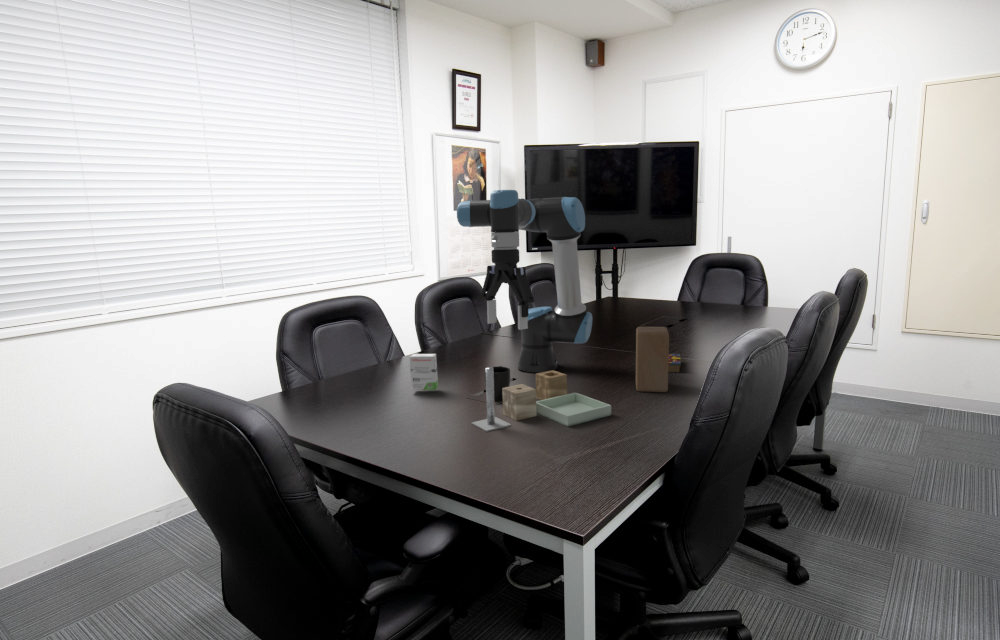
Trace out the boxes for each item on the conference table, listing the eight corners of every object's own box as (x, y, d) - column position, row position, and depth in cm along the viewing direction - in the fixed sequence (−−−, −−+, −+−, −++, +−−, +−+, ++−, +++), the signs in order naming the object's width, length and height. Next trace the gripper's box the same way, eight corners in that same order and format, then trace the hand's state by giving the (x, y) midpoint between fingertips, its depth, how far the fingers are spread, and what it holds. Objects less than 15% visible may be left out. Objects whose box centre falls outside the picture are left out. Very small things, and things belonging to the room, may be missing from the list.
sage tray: (533, 411, 177) (533, 402, 176) (575, 401, 185) (575, 392, 184) (567, 426, 163) (567, 416, 163) (611, 415, 172) (611, 405, 171)
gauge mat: (471, 423, 168) (471, 422, 168) (495, 418, 172) (495, 416, 172) (486, 431, 161) (486, 430, 161) (511, 425, 165) (510, 424, 165)
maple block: (503, 414, 175) (502, 388, 174) (522, 409, 179) (522, 384, 177) (516, 420, 169) (515, 393, 168) (536, 415, 173) (535, 389, 172)
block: (668, 393, 191) (669, 332, 188) (636, 392, 193) (636, 331, 190) (665, 384, 201) (667, 326, 197) (635, 383, 203) (636, 326, 199)
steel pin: (485, 423, 167) (483, 367, 164) (492, 421, 168) (490, 366, 165) (489, 425, 165) (488, 369, 162) (496, 423, 166) (494, 367, 163)
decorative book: (648, 374, 215) (648, 361, 214) (649, 363, 231) (649, 351, 230) (680, 375, 212) (681, 362, 211) (679, 364, 228) (680, 352, 227)
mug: (514, 391, 198) (514, 363, 196) (508, 402, 186) (507, 373, 184) (490, 390, 199) (489, 363, 198) (482, 401, 188) (481, 372, 186)
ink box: (438, 386, 207) (437, 353, 205) (435, 390, 202) (434, 356, 200) (414, 386, 207) (412, 353, 205) (411, 390, 202) (409, 356, 200)
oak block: (536, 398, 190) (535, 373, 188) (553, 394, 193) (553, 370, 192) (549, 403, 184) (548, 378, 183) (567, 399, 188) (566, 374, 186)
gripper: (467, 248, 168) (469, 322, 172) (524, 250, 149) (526, 333, 152) (488, 247, 173) (490, 319, 176) (546, 248, 153) (547, 329, 157)
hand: (507, 326), depth 164 cm, fingers open, 13 cm apart
